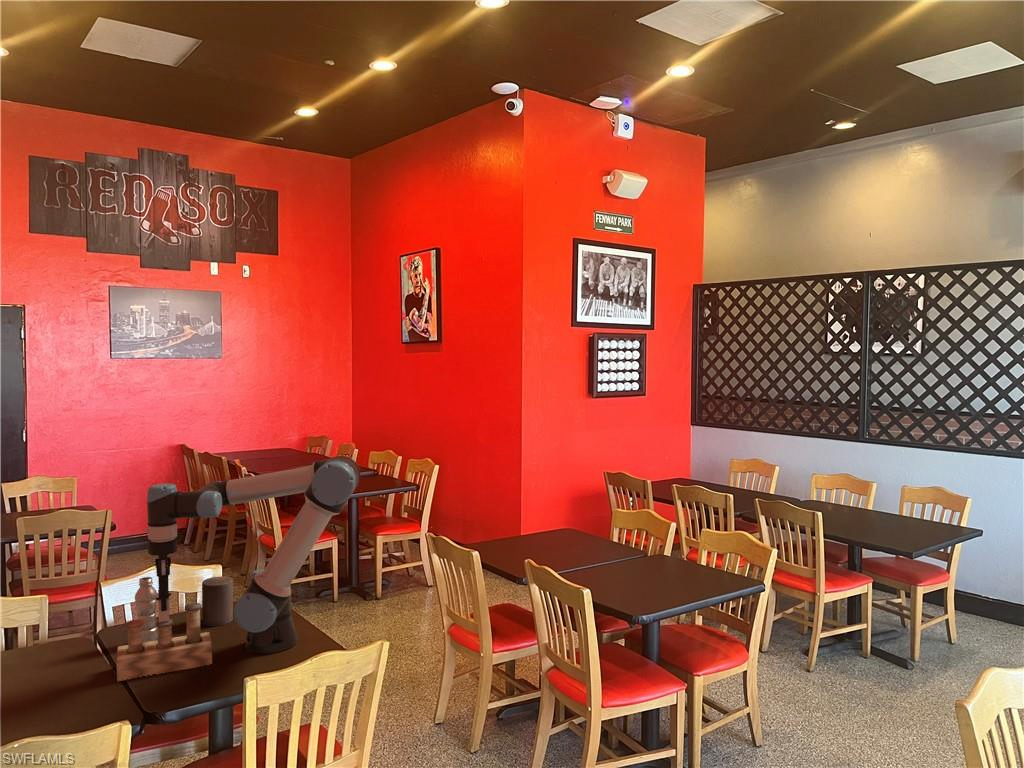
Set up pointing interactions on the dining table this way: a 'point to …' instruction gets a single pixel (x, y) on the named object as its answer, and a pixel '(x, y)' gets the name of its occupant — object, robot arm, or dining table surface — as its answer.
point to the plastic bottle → (147, 609)
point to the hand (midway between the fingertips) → (164, 620)
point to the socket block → (164, 657)
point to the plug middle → (164, 634)
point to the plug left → (193, 622)
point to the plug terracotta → (135, 636)
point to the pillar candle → (217, 601)
